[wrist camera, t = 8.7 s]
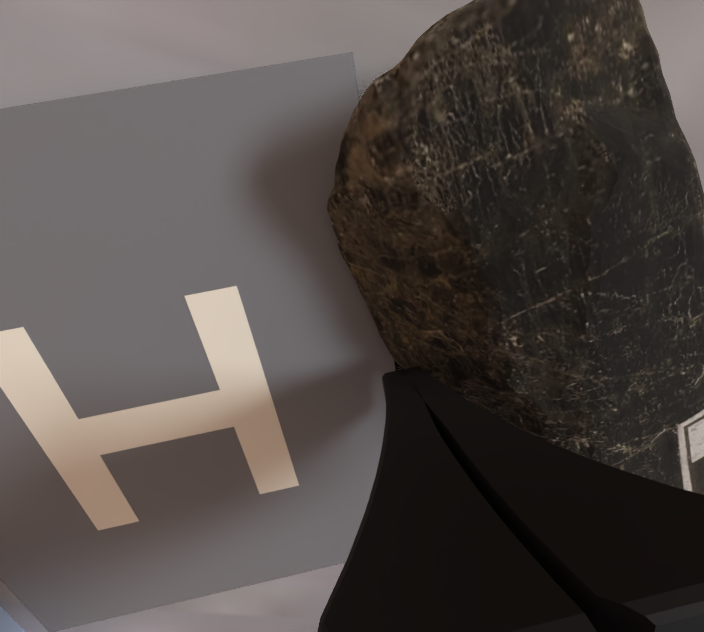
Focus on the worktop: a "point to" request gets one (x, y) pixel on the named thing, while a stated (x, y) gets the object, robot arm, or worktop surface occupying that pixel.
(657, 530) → the robot arm
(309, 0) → the worktop surface
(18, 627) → the gray cube
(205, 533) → the letter board
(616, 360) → the rock
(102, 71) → the worktop surface
